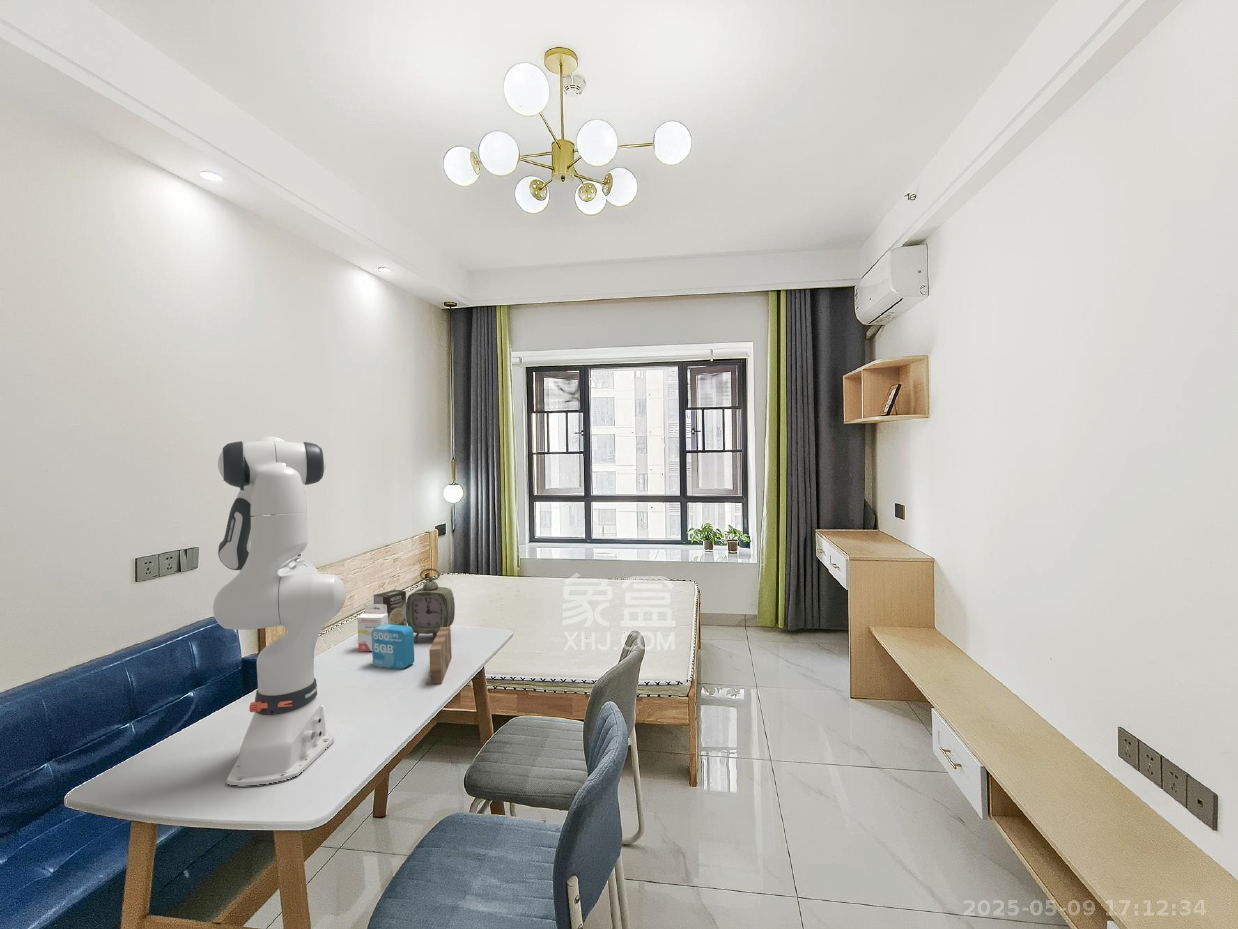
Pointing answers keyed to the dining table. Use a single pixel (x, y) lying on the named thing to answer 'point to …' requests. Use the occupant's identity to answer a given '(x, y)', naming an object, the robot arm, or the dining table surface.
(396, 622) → the coffee box
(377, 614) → the ink cartridge box
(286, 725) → the robot arm
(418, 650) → the dining table surface
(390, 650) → the data package
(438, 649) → the walnut board
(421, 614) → the tabletop clock
